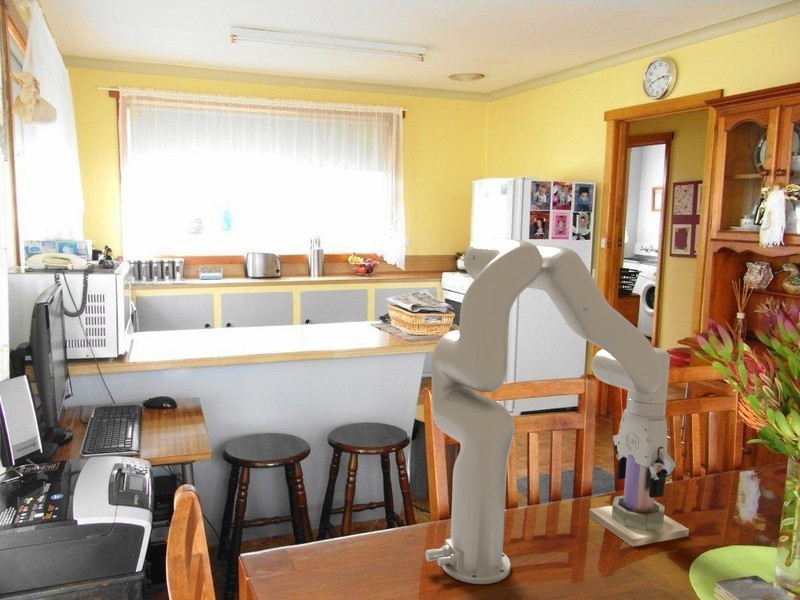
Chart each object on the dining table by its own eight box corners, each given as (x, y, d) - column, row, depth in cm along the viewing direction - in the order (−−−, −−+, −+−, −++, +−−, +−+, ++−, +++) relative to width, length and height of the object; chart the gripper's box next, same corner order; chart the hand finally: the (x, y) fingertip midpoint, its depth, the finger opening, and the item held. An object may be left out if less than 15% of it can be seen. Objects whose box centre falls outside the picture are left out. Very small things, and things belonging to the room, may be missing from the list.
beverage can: (620, 521, 136) (625, 452, 134) (624, 510, 141) (629, 443, 139) (650, 528, 133) (656, 457, 132) (654, 517, 139) (659, 448, 137)
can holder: (632, 546, 129) (634, 525, 128) (588, 515, 142) (590, 495, 141) (688, 536, 134) (690, 515, 133) (640, 507, 147) (642, 488, 146)
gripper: (603, 397, 141) (598, 473, 143) (661, 421, 125) (654, 507, 127) (632, 395, 144) (626, 470, 146) (692, 418, 128) (684, 502, 130)
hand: (639, 487), depth 137 cm, fingers open, 9 cm apart
